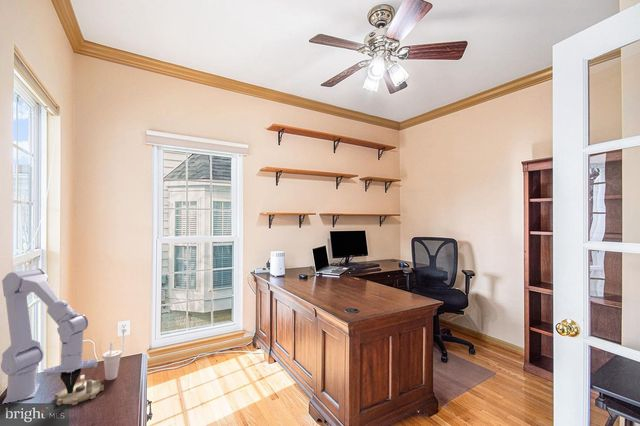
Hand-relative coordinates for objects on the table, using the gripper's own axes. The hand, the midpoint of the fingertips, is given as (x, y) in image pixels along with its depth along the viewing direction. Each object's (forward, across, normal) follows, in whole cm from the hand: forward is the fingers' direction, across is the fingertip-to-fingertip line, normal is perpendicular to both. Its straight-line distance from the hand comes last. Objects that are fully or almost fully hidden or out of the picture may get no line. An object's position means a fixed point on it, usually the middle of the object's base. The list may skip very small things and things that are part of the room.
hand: (70, 392), depth 104 cm
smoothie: (+4, +12, +11) cm, 17 cm away
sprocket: (+3, +2, +4) cm, 5 cm away
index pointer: (+3, +2, +12) cm, 13 cm away
